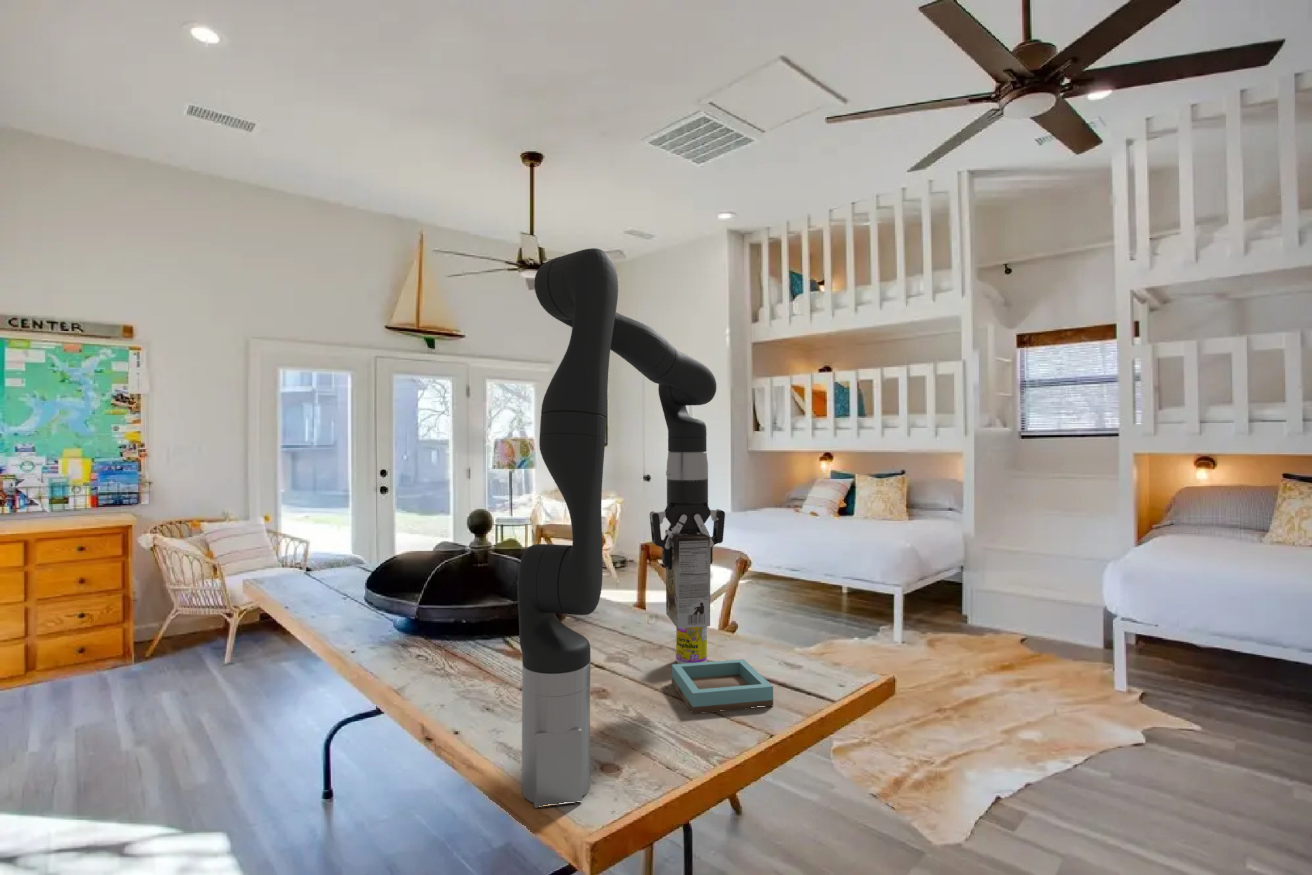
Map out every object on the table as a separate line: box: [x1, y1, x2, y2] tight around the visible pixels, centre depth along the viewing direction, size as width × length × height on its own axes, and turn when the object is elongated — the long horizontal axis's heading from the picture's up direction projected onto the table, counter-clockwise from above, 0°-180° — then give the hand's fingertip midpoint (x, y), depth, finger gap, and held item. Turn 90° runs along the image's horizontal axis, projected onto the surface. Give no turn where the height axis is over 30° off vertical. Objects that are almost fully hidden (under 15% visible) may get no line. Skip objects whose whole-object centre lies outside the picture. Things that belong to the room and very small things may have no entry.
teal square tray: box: [671, 658, 774, 715], centre depth 122 cm, size 15×15×4 cm
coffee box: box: [664, 529, 711, 628], centre depth 119 cm, size 9×6×16 cm
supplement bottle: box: [675, 626, 708, 664], centre depth 140 cm, size 7×7×13 cm
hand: (687, 567), depth 119 cm, fingers closed on coffee box, 6 cm apart
